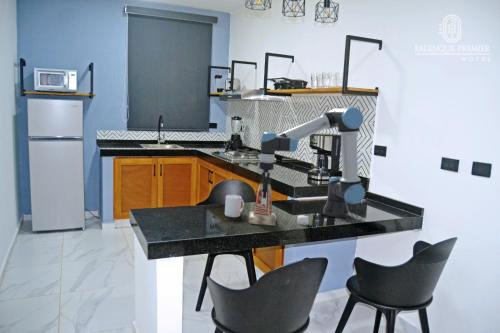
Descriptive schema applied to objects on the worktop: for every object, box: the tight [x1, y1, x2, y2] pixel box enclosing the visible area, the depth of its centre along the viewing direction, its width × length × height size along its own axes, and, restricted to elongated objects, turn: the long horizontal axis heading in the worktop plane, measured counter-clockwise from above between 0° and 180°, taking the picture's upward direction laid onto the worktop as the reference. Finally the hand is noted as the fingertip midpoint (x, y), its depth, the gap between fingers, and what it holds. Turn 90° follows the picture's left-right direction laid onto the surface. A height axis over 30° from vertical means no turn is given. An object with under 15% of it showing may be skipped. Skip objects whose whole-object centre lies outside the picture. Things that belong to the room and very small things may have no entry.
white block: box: [296, 214, 310, 226], centre depth 222 cm, size 6×6×4 cm
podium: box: [248, 210, 277, 226], centre depth 221 cm, size 14×14×3 cm
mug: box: [224, 194, 245, 218], centre depth 229 cm, size 9×12×11 cm
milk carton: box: [253, 181, 273, 218], centre depth 220 cm, size 9×9×20 cm
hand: (263, 201), depth 220 cm, fingers open, 13 cm apart
